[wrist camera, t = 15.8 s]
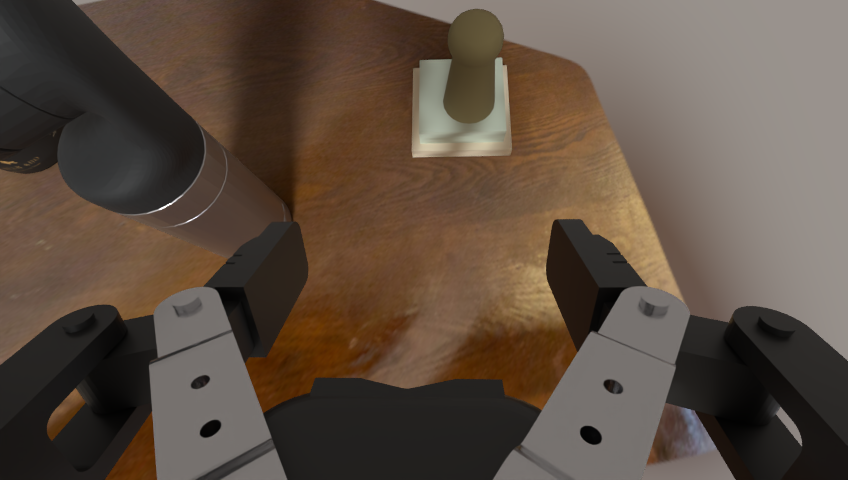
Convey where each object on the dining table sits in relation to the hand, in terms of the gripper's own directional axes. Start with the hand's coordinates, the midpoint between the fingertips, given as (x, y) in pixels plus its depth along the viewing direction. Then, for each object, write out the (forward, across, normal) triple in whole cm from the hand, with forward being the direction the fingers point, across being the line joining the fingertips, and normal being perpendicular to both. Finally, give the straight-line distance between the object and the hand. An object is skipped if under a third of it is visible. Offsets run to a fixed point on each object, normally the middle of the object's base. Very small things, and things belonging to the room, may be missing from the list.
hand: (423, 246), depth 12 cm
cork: (+36, -4, +2) cm, 37 cm away
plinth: (+40, -3, +4) cm, 40 cm away
